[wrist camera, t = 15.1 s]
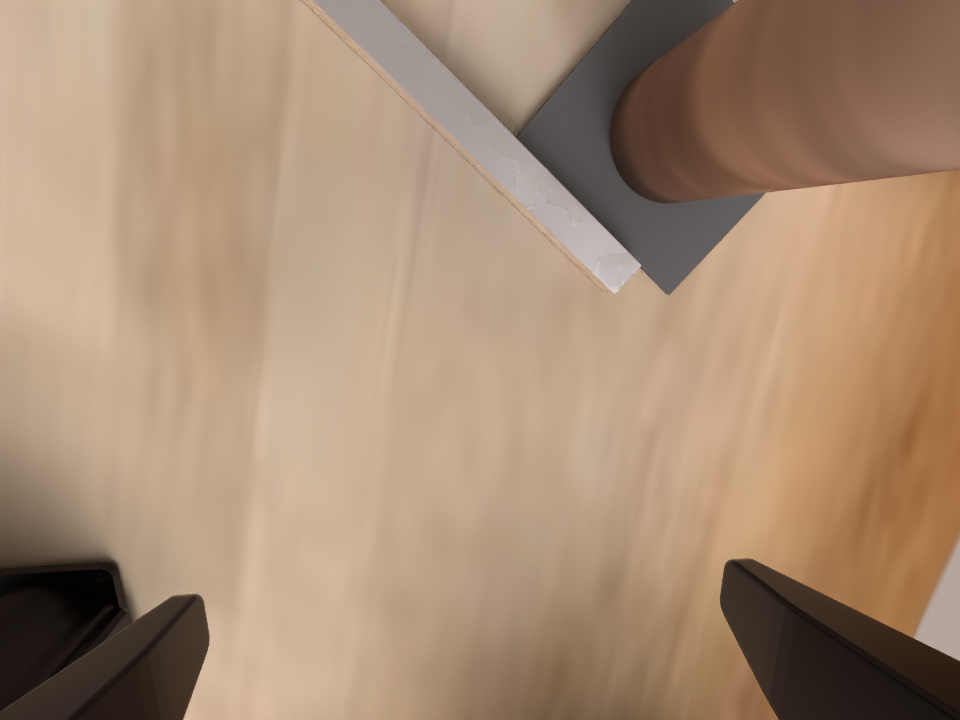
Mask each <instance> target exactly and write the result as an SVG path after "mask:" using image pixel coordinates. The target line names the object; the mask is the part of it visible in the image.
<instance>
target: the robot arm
mask: <svg viewBox="0 0 960 720" xmlns="http://www.w3.org/2000/svg"><path fill="white" fill-rule="evenodd" d="M101 574H103V575H105V576H106V578H105V577H103V576H102V575H101ZM720 604H721V609H722V612H723V614H724V616H725V618H726V620H727V622H728V624H729V626H730V628H731V630H732V632H733V634H734V636H735V638H736V640H737V642H738V644H739V646H740V648H741V650H742V652H743V654H744V656H745V658H746V660H747V662H748V664H749V666H750V668H751V670H752V672H753V674H754V676H755V678H756V680H757V682H758V683H759V685H760V687H761V689H762V691H763V693H764V695H765V697H766V699H767V700H768V702H769V704H770V706H771V707H772V709H773V711H774V712H775V714H776V716H777V717H778V719H779V720H960V661H958V660H956V659H954V658H952V657H950V656H948V655H946V654H944V653H942V652H940V651H938V650H936V649H934V648H932V647H930V646H928V645H926V644H924V643H922V642H920V641H918V640H916V639H914V638H912V637H910V636H908V635H905V634H903V633H901V632H899V631H897V630H895V629H893V628H891V627H889V626H887V625H885V624H883V623H881V622H879V621H877V620H875V619H873V618H871V617H869V616H867V615H865V614H863V613H861V612H859V611H857V610H855V609H853V608H851V607H849V606H846V605H844V604H842V603H840V602H838V601H836V600H834V599H832V598H830V597H828V596H826V595H824V594H822V593H820V592H818V591H816V590H814V589H812V588H810V587H808V586H806V585H804V584H802V583H800V582H798V581H796V580H794V579H792V578H789V577H787V576H785V575H783V574H781V573H779V572H777V571H775V570H773V569H771V568H769V567H767V566H765V565H763V564H761V563H759V562H757V561H755V560H753V559H748V558H746V559H731V560H729V561H727V562H726V564H725V567H724V573H723V580H722V587H721V594H720ZM208 647H209V629H208V623H207V617H206V611H205V605H204V601H203V598H202V597H201V596H200V595H198V594H188V595H176V596H172V597H170V598H169V599H167V600H166V601H164V602H163V603H161V604H160V605H158V606H157V607H155V608H154V609H152V610H151V611H149V612H148V613H146V614H145V615H143V616H142V617H140V618H139V619H137V620H136V621H134V622H133V623H131V622H130V617H129V613H128V611H127V608H126V603H125V599H124V594H123V589H122V585H121V580H120V575H119V572H118V569H117V568H116V567H115V566H114V565H112V564H109V563H97V564H81V565H64V566H47V567H30V568H13V569H0V720H183V719H184V716H185V713H186V710H187V708H188V705H189V702H190V699H191V696H192V694H193V691H194V688H195V685H196V682H197V680H198V677H199V674H200V671H201V668H202V665H203V663H204V660H205V657H206V654H207V651H208Z"/></svg>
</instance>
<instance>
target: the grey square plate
mask: <svg viewBox="0 0 960 720" xmlns="http://www.w3.org/2000/svg"><path fill="white" fill-rule="evenodd" d="M733 4H735V3H734V2H733V1H732V0H633V1H632V2H631V3H630V4H629V5H628V6H627V8H626V9H625V10H624V11H623V12H622V14H621V15H620V16H619V17H618V18H617V19H616V21H615V22H614V23H613V24H612V25H611V26H610V28H609V29H608V30H607V31H606V32H605V34H604V35H603V36H602V37H601V38H600V39H599V41H598V42H597V43H596V44H595V45H594V47H593V48H592V49H591V50H590V51H589V52H588V54H587V55H586V56H585V57H584V58H583V59H582V61H581V62H580V63H579V64H578V65H577V67H576V68H575V69H574V70H573V71H572V72H571V74H570V75H569V76H568V77H567V78H566V80H565V81H564V82H563V83H562V84H561V85H560V87H559V88H558V89H557V90H556V91H555V92H554V94H553V95H552V96H551V97H550V98H549V100H548V101H547V102H546V103H545V104H544V105H543V107H542V108H541V109H540V110H539V111H538V113H537V114H536V115H535V116H534V117H533V118H532V120H531V121H530V122H529V123H528V124H527V126H526V127H525V128H524V129H523V130H522V131H521V133H520V134H519V135H518V136H517V137H516V139H517V140H518V141H519V142H520V143H521V144H522V145H523V146H524V147H525V148H526V149H527V150H528V151H529V152H530V153H531V154H532V155H533V156H534V157H535V158H536V159H537V160H538V161H539V162H540V163H541V164H542V165H543V166H544V167H545V168H546V169H547V170H548V171H549V172H550V173H551V174H552V175H553V176H554V177H555V178H556V179H557V180H558V181H559V182H560V183H561V184H562V185H563V186H564V187H565V188H566V189H567V190H568V191H569V192H570V193H571V194H572V195H573V196H574V197H575V198H576V199H577V200H578V201H579V203H580V204H581V205H582V206H583V207H584V208H585V209H586V210H587V211H588V212H589V213H590V214H591V215H592V216H593V217H594V218H595V219H596V220H597V221H598V222H599V223H600V224H601V225H602V226H603V227H604V228H605V229H606V230H607V231H608V232H609V233H610V234H611V235H612V236H613V237H614V238H615V239H616V240H617V241H618V242H619V243H620V244H621V245H622V246H623V247H624V248H625V249H626V250H627V251H628V252H629V253H630V254H631V255H632V256H633V257H634V258H635V259H636V260H637V261H638V262H639V263H640V264H641V265H642V266H641V267H640V268H641V269H642V270H643V271H644V272H645V273H646V274H647V275H648V276H649V277H650V278H651V279H652V280H653V281H654V282H655V283H656V284H657V285H658V286H659V287H660V288H661V289H662V290H663V291H664V292H665V293H666V294H669V295H670V294H671V293H672V292H673V290H674V289H675V288H676V287H677V286H678V285H679V284H680V283H681V282H682V281H683V280H684V279H685V278H686V277H687V276H688V275H689V274H690V272H691V271H692V270H693V269H694V268H695V267H696V266H697V265H698V264H699V263H700V262H701V261H702V260H703V259H704V258H705V257H706V255H707V254H708V253H709V252H710V251H711V250H712V249H713V248H714V247H715V246H716V245H717V244H718V243H719V242H720V241H721V240H722V239H723V237H724V236H725V235H726V234H727V233H728V232H729V231H730V230H731V229H732V228H733V227H734V226H735V225H736V224H737V223H738V222H739V221H740V219H741V218H742V217H743V216H744V215H745V214H746V213H747V212H748V211H749V210H750V209H751V208H752V207H753V206H754V205H755V204H756V203H757V201H758V200H759V199H760V198H761V197H762V196H763V195H764V194H765V193H766V192H765V193H757V194H748V195H740V196H731V197H723V198H714V199H706V200H697V201H689V202H680V203H670V204H667V203H658V202H653V201H650V200H648V199H645V198H643V197H642V196H640V195H638V194H637V193H635V192H634V191H633V190H632V189H631V188H630V187H629V186H628V185H627V184H626V183H625V182H624V180H623V179H622V178H621V176H620V174H619V172H618V171H617V169H616V166H615V164H614V161H613V157H612V153H611V146H610V129H611V122H612V117H613V113H614V110H615V107H616V105H617V103H618V101H619V98H620V96H621V95H622V93H623V92H624V90H625V88H626V87H627V86H628V85H629V84H630V82H631V81H632V80H633V79H634V78H635V77H636V76H637V75H638V74H640V73H641V72H642V71H644V70H645V69H646V68H648V67H649V66H650V65H652V64H653V63H654V62H656V61H657V60H659V59H660V58H661V57H663V56H664V55H665V54H667V53H668V52H669V51H671V50H672V49H673V48H675V47H676V46H678V45H679V44H680V43H682V42H683V41H684V40H686V39H687V38H688V37H690V36H691V35H692V34H694V33H695V32H697V31H698V30H699V29H701V28H702V27H703V26H705V25H706V24H707V23H709V22H710V21H711V20H713V19H714V18H716V17H717V16H718V15H720V14H721V13H722V12H724V11H725V10H726V9H728V8H729V7H730V6H732V5H733Z"/></svg>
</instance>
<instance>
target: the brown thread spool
mask: <svg viewBox="0 0 960 720" xmlns="http://www.w3.org/2000/svg"><path fill="white" fill-rule="evenodd" d="M610 146H611V153H612V157H613V161H614V164H615V166H616V169H617V171H618V172H619V174H620V176H621V178H622V179H623V180H624V182H625V183H626V184H627V185H628V186H629V187H630V188H631V189H632V190H633V191H634V192H635V193H637V194H638V195H640V196H642V197H643V198H645V199H648V200H650V201H653V202H658V203H667V204H670V203H680V202H689V201H697V200H706V199H714V198H723V197H731V196H740V195H748V194H757V193H765V192H774V191H782V190H791V189H799V188H808V187H816V186H825V185H833V184H842V183H850V182H859V181H867V180H876V179H884V178H893V177H901V176H910V175H918V174H927V173H935V172H944V171H952V170H960V0H739V1H737V2H736V3H735V4H733V5H732V6H730V7H729V8H728V9H726V10H725V11H724V12H722V13H721V14H720V15H718V16H717V17H716V18H714V19H713V20H711V21H710V22H709V23H707V24H706V25H705V26H703V27H702V28H701V29H699V30H698V31H697V32H695V33H694V34H692V35H691V36H690V37H688V38H687V39H686V40H684V41H683V42H682V43H680V44H679V45H678V46H676V47H675V48H673V49H672V50H671V51H669V52H668V53H667V54H665V55H664V56H663V57H661V58H660V59H659V60H657V61H656V62H654V63H653V64H652V65H650V66H649V67H648V68H646V69H645V70H644V71H642V72H641V73H640V74H638V75H637V76H636V77H635V78H634V79H633V80H632V81H631V82H630V84H629V85H628V86H627V87H626V88H625V90H624V92H623V93H622V95H621V96H620V98H619V101H618V103H617V105H616V107H615V110H614V113H613V117H612V122H611V129H610Z"/></svg>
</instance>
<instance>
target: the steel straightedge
mask: <svg viewBox="0 0 960 720" xmlns="http://www.w3.org/2000/svg"><path fill="white" fill-rule="evenodd" d="M303 1H304V2H305V3H306V4H307V5H308V6H309V7H310V8H311V9H312V10H313V11H314V12H315V13H316V14H317V15H318V16H319V17H320V18H321V19H322V20H323V21H324V22H325V23H326V24H327V25H329V26H330V27H331V28H332V29H333V30H334V31H335V32H336V33H337V34H338V35H339V36H340V37H341V38H342V39H343V40H344V41H345V42H346V43H347V44H348V45H349V46H350V47H351V48H352V49H353V50H354V51H355V52H356V53H357V54H358V55H359V56H360V57H362V58H363V59H364V60H365V61H366V62H367V63H368V64H369V65H370V66H371V67H372V68H373V69H374V70H375V71H376V72H377V73H378V74H379V75H380V76H381V77H382V78H383V79H384V80H385V81H386V82H387V83H388V84H389V85H390V86H391V87H392V88H393V89H395V90H396V91H397V92H398V93H399V94H400V95H401V96H402V97H403V98H404V99H405V100H406V101H407V102H408V103H409V104H410V105H411V106H412V107H413V108H414V109H415V110H416V111H417V112H418V113H419V114H420V115H421V116H422V117H423V118H424V119H425V120H427V121H428V122H429V123H430V124H431V125H432V126H433V127H434V128H435V129H436V130H437V131H438V132H439V133H440V134H441V135H442V136H443V137H444V138H445V139H446V140H447V141H448V142H449V143H450V144H451V145H452V146H453V147H454V148H455V149H456V150H457V151H458V152H460V153H461V154H462V155H463V156H464V157H465V158H466V159H467V160H468V161H469V162H470V163H471V164H472V165H473V166H474V167H475V168H476V169H477V170H478V171H479V172H480V173H481V174H482V175H483V176H484V177H485V178H486V179H487V180H488V181H489V182H490V183H491V184H493V185H494V186H495V187H496V188H497V189H498V190H499V191H500V192H501V193H502V194H503V195H504V196H505V197H506V198H507V199H508V200H509V201H510V202H511V203H512V204H513V205H514V206H515V207H516V208H517V209H518V210H519V211H520V212H521V213H522V214H523V215H524V216H526V217H527V218H528V219H529V220H530V221H531V222H532V223H533V224H534V225H535V226H536V227H537V228H538V229H539V230H540V231H541V232H542V233H543V234H544V235H545V236H546V237H547V238H548V239H549V240H550V241H551V242H552V243H553V244H554V245H555V246H556V247H558V248H559V249H560V250H561V251H562V252H563V253H564V254H565V255H566V256H567V257H568V258H569V259H570V260H571V261H572V262H573V263H574V264H575V265H576V266H577V267H578V268H579V269H580V270H581V271H582V272H583V273H584V274H585V275H586V276H587V277H588V278H589V279H591V280H592V281H593V282H594V283H595V284H596V285H597V286H598V287H599V288H600V289H601V290H602V291H605V292H608V293H611V294H614V295H615V294H616V293H617V292H618V291H619V290H620V288H621V287H622V286H623V285H624V284H625V283H626V282H627V281H628V280H629V279H630V278H631V277H632V276H633V274H634V273H635V272H636V271H637V270H638V269H639V268H640V267H641V266H642V265H641V264H640V263H639V262H638V261H637V260H636V259H635V258H634V257H633V256H632V255H631V254H630V253H629V252H628V251H627V250H626V249H625V248H624V247H623V246H622V245H621V244H620V243H619V242H618V241H617V240H616V239H615V238H614V237H613V236H612V235H611V234H610V233H609V232H608V231H607V230H606V229H605V228H604V227H603V226H602V225H601V224H600V223H599V222H598V221H597V220H596V219H595V218H594V217H593V216H592V215H591V214H590V213H589V212H588V211H587V210H586V209H585V208H584V207H583V206H582V205H581V204H580V203H579V201H578V200H577V199H576V198H575V197H574V196H573V195H572V194H571V193H570V192H569V191H568V190H567V189H566V188H565V187H564V186H563V185H562V184H561V183H560V182H559V181H558V180H557V179H556V178H555V177H554V176H553V175H552V174H551V173H550V172H549V171H548V170H547V169H546V168H545V167H544V166H543V165H542V164H541V163H540V162H539V161H538V160H537V159H536V158H535V157H534V156H533V155H532V154H531V153H530V152H529V151H528V150H527V149H526V148H525V147H524V146H523V145H522V144H521V143H520V142H519V141H518V140H517V139H516V138H515V137H514V136H513V135H512V133H511V132H510V131H509V130H508V129H507V128H506V127H505V126H504V125H503V124H502V123H501V122H500V121H499V120H498V119H497V118H496V117H495V116H494V115H493V114H492V113H491V112H490V111H489V110H488V109H487V108H486V107H485V106H484V105H483V104H482V103H481V102H480V101H479V100H478V99H477V98H476V97H475V96H474V95H473V94H472V93H471V92H470V91H469V90H468V89H467V88H466V87H465V86H464V85H463V84H462V83H461V82H460V81H459V80H458V79H457V78H456V77H455V76H454V75H453V74H452V73H451V72H450V71H449V70H448V69H447V68H446V67H445V65H444V64H443V63H442V62H441V61H440V60H439V59H438V58H437V57H436V56H435V55H434V54H433V53H432V52H431V51H430V50H429V49H428V48H427V47H426V46H425V45H424V44H423V43H422V42H421V41H420V40H419V39H418V38H417V37H416V36H415V35H414V34H413V33H412V32H411V31H410V30H409V29H408V28H407V27H406V26H405V25H404V24H403V23H402V22H401V21H400V20H399V19H398V18H397V17H396V16H395V15H394V14H393V13H392V12H391V11H390V10H389V9H388V8H387V7H386V6H385V5H384V4H383V3H382V2H381V1H380V0H303Z"/></svg>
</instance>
